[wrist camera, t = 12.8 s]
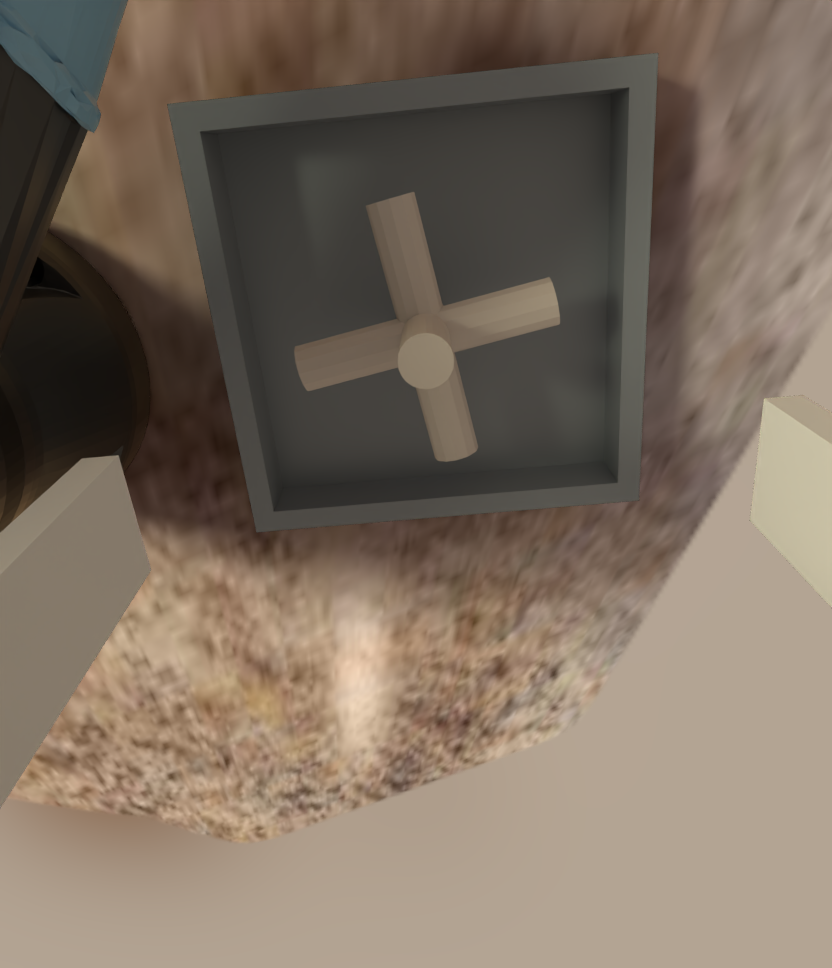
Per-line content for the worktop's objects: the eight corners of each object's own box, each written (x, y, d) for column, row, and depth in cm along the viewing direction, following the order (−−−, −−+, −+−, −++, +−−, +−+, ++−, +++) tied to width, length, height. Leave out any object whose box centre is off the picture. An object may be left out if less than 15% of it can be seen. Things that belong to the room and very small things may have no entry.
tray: (269, 501, 37) (256, 532, 34) (193, 110, 29) (167, 103, 26) (619, 471, 36) (638, 500, 33) (631, 64, 29) (658, 53, 26)
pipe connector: (555, 391, 33) (606, 465, 24) (351, 443, 34) (325, 534, 25) (510, 165, 30) (549, 149, 20) (284, 231, 31) (223, 245, 21)
